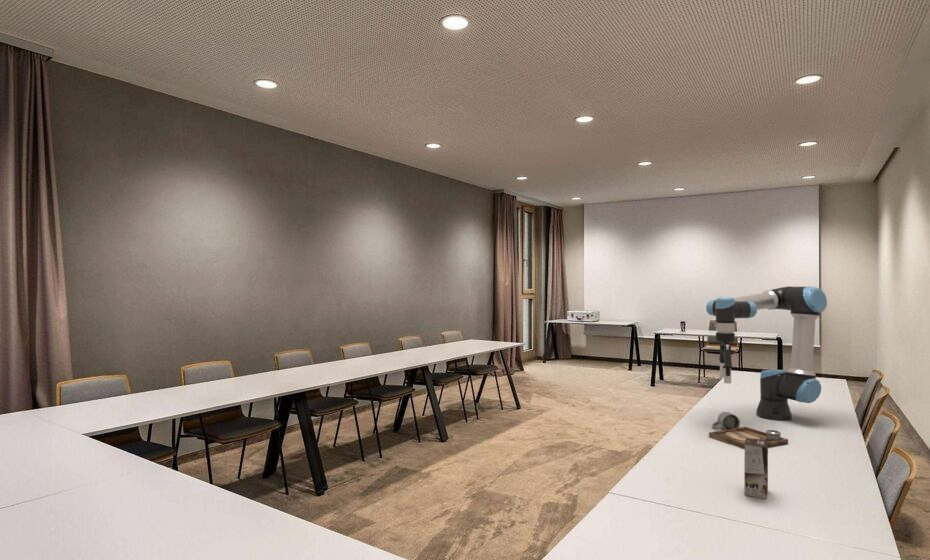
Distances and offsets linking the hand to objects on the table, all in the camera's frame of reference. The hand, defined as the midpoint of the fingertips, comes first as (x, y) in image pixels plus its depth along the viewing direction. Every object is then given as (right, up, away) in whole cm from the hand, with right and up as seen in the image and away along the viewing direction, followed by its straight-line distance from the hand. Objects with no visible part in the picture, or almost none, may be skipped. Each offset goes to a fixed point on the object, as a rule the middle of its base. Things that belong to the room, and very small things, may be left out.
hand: (725, 380), depth 232 cm
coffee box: (-22, -24, -64) cm, 72 cm away
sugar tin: (+13, -23, -14) cm, 30 cm away
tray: (+4, -23, -11) cm, 26 cm away
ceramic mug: (+3, -24, +6) cm, 25 cm away
